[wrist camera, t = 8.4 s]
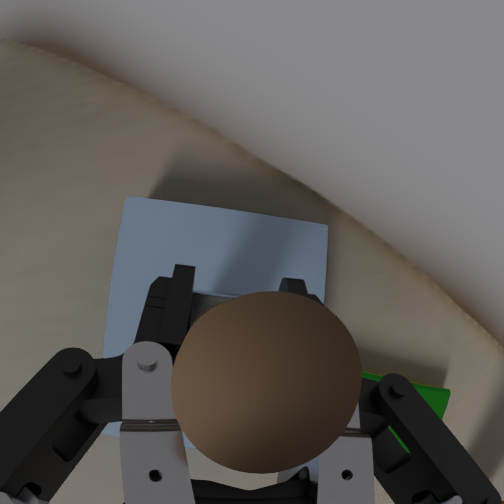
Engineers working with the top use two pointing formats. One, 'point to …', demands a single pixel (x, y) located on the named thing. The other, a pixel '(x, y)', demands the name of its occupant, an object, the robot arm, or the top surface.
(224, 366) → the walnut peg
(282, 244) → the hole block
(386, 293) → the top surface
